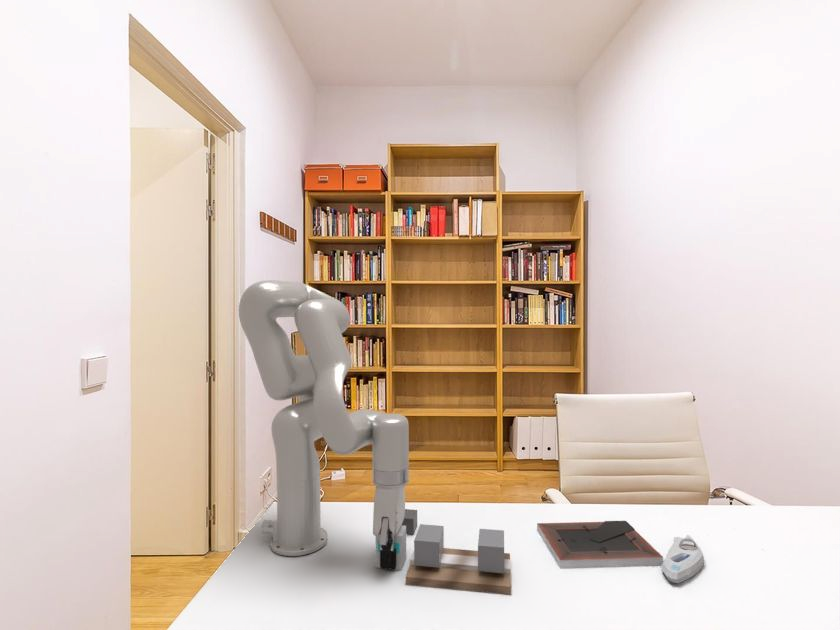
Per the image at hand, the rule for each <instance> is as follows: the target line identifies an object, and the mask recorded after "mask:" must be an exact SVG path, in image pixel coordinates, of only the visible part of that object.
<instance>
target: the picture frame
mask: <svg viewBox="0 0 840 630" xmlns="http://www.w3.org/2000/svg"><path fill="white" fill-rule="evenodd" d="M536 531H537V533H538V534H539V536H540V537H541V540H542V541H543V543H544V544H545V545H546V547H547V549H548V551H549V552H550V554H551V555H552V558H553V559H554V561H555V563H557V566H558V567H559V569H561V570H562V569H587V568H589V569H591V568H593V569H594V568H618V567H619V568H622V567H623V568H625V567H629V568H630V567H656V566H657V567H658V566H659V567H660V566H662V563H663V561H664V556H663V555H662V554H660V552H659V551H657V549H655V547H653V545H651V544H650V543H649V542H648V541H647V540H646V539H645V538H644V537H643V536H642V535H641V534H640V533H638V531H637V530H636V529H635V527H633V526H632V525H631V524H630V523H629V522H628V521H627V520H605V521H589V522H588V521H585V522H584V521H579V522H575V521H574V522H573V521H572V522H544V523H543V522H541V523H540V522H539V523H536Z"/></svg>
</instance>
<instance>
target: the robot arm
mask: <svg viewBox="0 0 840 630" xmlns="http://www.w3.org/2000/svg"><path fill="white" fill-rule="evenodd" d="M293 317H294V323H295V326H296V327H295V328H296V330H297V332H298V334H299V337H300V340H301V342H302V344H303V347H304V349H305V351H306V354H301V355H299V354H298V355H296V354H295V352H294V349H293V347H292V344H291V342H290V340H291V339H290V338H289V337H288V334H287V332H286V331H285V330H284V329H283V327H282V326H281V325H280V324H279V323H278V322H277V318H293ZM238 319H239V322H240V325H241V328H242V330H243V332H244V335H245V336H246V339H247V341H248V344H249V345H250V348H251V351H252V354H253V358H254V360H255V364H256V366H257V369H258V373H259V375H260V379H261V381H262V385H263V387H264V390H265V392H266V394H267V395H268V397H270V399H272V400H274V401H286V400H290V399H293V398H294V399H295V398H297V399H298V401H299V402H298V401H297V402H295V403H292V404H290V405H287V406H285V407H283V408H281V409H280V410H278V412H277V413H276V414H275V416H274V417H273V419H272V421H271V436H272V441H273V446H274V453H275V465H276V466H275V467H276V520H270V519H264V520H263V521H262V523H261V532H262V534H267V535H268V534H271V535H272V537H271V539H270V540H269V543H270V544H269V545H270V550H272V552H274V553H275V554H277V555H281V556H285V557H287V556H288V557H298V556H304V555H305V556H306V555H308V554H309V555H310V554H312V553H314V552H316V551H318V550H321V549H322V548H323V547H324V546H325V545H326V544H327V542H328V536H329V535H328V532H327V531H326V529H324V528H323V527H321V463H320V458H319V454H318V452H317V450H316V447H315V442H316V441H317V440H319V439H322V438H323V440H324V441H325V443H326V445H327V447H329V449H330V451H332V452H333V453H335V454H337V455H340V456H347V455H351V454H353V453H355V452H357V451H358V450H361V448H364V447H366V446H370V445H372V484H373V485H374V486H375V489H374V500H373V501H374V502H373V513H372V514H373V517H372V535H373V536H375V537H376V535H378V534H379V532H380V530H381V536H380V568H379V569H381V570H392V571H393V570H396V549H394V547H395V536H396V535H397V534H398V532H399V529H400V527H401V525H402V523H403V520H404V516H405V509H406V489H405V487H406V485H408V484H409V482H410V481H409V480H410V473H409V472H410V470H409V469H410V468H409V467H410V466H409V465H410V460H409V459H410V458H409V456H410V452H409V451H410V450H409V449H410V448H409V447H410V443H409V442H410V441H409V437H410V435H409V433H410V431H409V430H410V429H409V428H410V427H409V420H408V418H407V417H406V416H405V415H403V414H400V413H383V412H380V411H378V410H377V411H376V410H373V409H369V408H362V409H357V410H355V411H353V412H349V411H348V410H347V407H346V403H345V401H344V393H343V387H344V381H345V378H346V376H347V374H348V373H349V370H350V368H351V366H352V363H353V359H352V355H351V353H350V351H349V350H348V346H347V344H346V341H345V340H344V336H343V333H344V332H346V330H347V329H348V327H349V326H350V323H351V322H350V321H351V316H350V312H349V309H348V308H347V306H346V305H345V304H344V302H342V301H340V300H339V299H337V298H335V297H334V296H330V295H329V294H327V293H325V292H323V291H320V290H318V289H316V288H314V287H313V286H310V285H308V284H306V283H303V282H297V281H288V280H287V281H286V280H285V281H284V280H283V281H282V280H271V279H270V280H260V281H257V282H254V283H252V284H250V285H249V286H248V287H247V288H246V289H244V292H243V293H242V295H241V298H240V300H239V303H238ZM388 531H391V532H392V534H390V533H388ZM388 538H391V543H390V541H388Z"/></svg>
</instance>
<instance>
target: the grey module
mask: <svg viewBox="0 0 840 630" xmlns="http://www.w3.org/2000/svg"><path fill="white" fill-rule="evenodd" d="M388 533H390V534H392V532H391V531H388ZM380 536H381V530H380V532H379V534H378V535H376V536H375V568H376V569H381V568H380ZM388 541H390V543H391V538H388ZM394 549H396V569H397V571H398V570H400V571H403V569H402V568H404V566H405V563H406V560H407V535H406V526H404V525H401V527H400V529H399V532H398V534H397V535H396V536H395V547H394ZM377 567H378V568H377ZM396 569H395V570H396Z"/></svg>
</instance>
